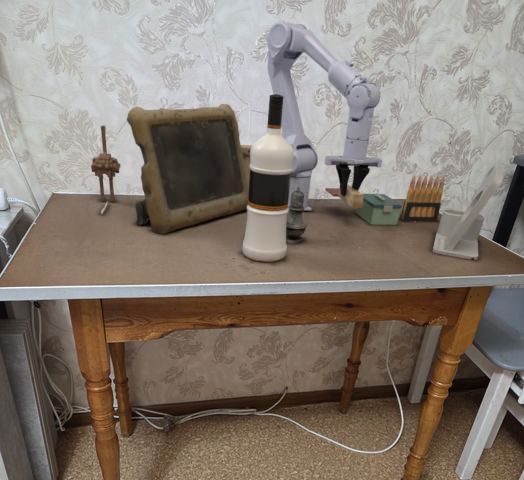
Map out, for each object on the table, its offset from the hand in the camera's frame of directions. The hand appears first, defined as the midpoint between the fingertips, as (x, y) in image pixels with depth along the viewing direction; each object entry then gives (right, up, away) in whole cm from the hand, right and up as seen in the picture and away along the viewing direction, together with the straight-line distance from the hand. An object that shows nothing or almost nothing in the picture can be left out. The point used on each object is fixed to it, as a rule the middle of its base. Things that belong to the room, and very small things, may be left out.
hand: (348, 195), depth 125 cm
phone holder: (+25, -15, -9) cm, 30 cm away
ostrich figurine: (-63, -3, -1) cm, 63 cm away
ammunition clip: (+21, -4, +9) cm, 24 cm away
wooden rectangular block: (0, 0, +2) cm, 2 cm away
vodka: (-22, -21, -24) cm, 38 cm away
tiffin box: (+9, -4, +7) cm, 12 cm away
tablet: (-39, -7, -4) cm, 40 cm away
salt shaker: (-15, -15, -14) cm, 25 cm away
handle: (-27, +1, +11) cm, 29 cm away
